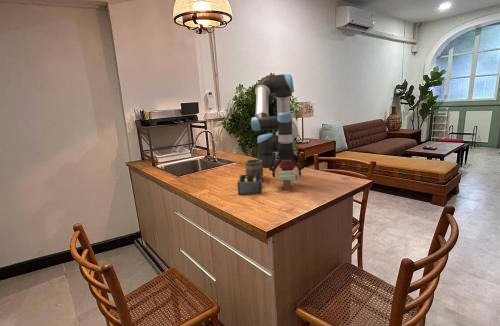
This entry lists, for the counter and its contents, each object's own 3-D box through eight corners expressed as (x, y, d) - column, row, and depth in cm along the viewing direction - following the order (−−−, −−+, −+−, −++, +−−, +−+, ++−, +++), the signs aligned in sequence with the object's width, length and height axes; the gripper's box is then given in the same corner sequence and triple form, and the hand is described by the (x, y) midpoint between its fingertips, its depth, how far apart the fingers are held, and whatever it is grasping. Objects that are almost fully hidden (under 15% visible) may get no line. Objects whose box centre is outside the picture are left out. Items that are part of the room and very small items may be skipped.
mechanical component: (298, 176, 169) (291, 180, 161) (284, 174, 175) (276, 178, 167) (298, 156, 166) (290, 160, 158) (284, 155, 172) (275, 158, 164)
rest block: (283, 185, 152) (282, 175, 151) (289, 185, 152) (289, 174, 151) (284, 189, 145) (283, 179, 143) (291, 189, 144) (290, 178, 143)
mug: (262, 183, 160) (261, 163, 157) (244, 183, 162) (243, 163, 159) (265, 175, 175) (264, 157, 172) (249, 176, 177) (248, 158, 174)
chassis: (240, 185, 157) (240, 174, 156) (261, 184, 156) (261, 173, 155) (238, 194, 141) (237, 182, 140) (261, 194, 141) (260, 181, 139)
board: (278, 174, 153) (278, 170, 153) (293, 173, 153) (292, 170, 152) (279, 180, 142) (279, 176, 141) (295, 179, 141) (295, 176, 141)
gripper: (263, 144, 140) (265, 184, 145) (309, 142, 139) (310, 183, 143) (263, 142, 147) (265, 180, 152) (307, 140, 146) (307, 179, 151)
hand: (286, 182), depth 148 cm, fingers open, 11 cm apart
